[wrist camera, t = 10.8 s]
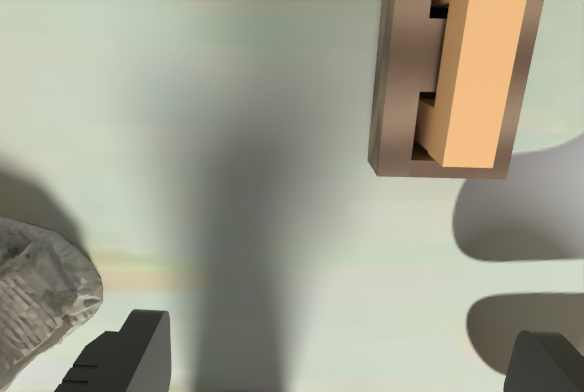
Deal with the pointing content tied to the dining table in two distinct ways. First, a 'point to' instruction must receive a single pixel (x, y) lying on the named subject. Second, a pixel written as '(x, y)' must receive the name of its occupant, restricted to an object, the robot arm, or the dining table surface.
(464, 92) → the tan u-shaped block
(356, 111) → the dining table surface
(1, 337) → the ceramic cottage
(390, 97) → the brown slotted wooden block
